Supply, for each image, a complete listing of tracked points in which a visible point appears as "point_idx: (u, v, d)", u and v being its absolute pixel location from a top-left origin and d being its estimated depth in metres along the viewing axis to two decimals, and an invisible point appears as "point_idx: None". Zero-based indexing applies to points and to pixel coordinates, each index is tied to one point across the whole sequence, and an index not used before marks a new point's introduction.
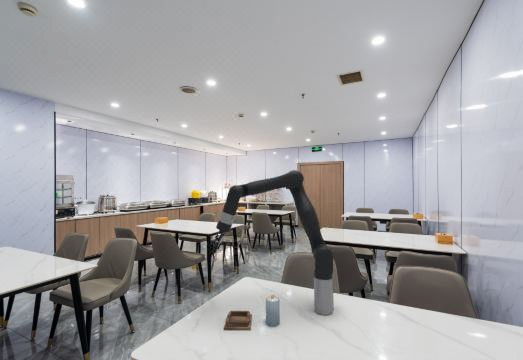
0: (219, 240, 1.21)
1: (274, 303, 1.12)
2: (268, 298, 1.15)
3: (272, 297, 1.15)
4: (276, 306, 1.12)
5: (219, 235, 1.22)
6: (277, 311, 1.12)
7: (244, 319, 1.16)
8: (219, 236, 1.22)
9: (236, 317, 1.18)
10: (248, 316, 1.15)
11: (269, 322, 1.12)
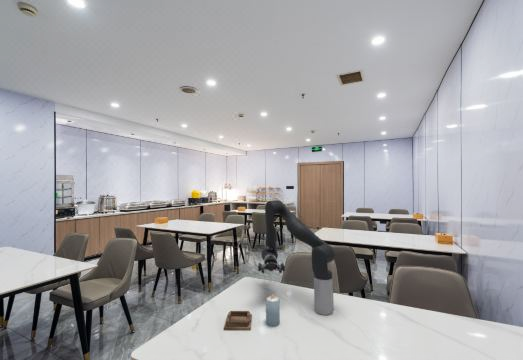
0: (258, 265, 1.34)
1: (274, 303, 1.12)
2: (268, 298, 1.15)
3: (272, 297, 1.15)
4: (276, 306, 1.12)
5: None
6: (277, 311, 1.12)
7: (244, 319, 1.16)
8: (258, 265, 1.36)
9: (236, 317, 1.18)
10: (248, 316, 1.15)
11: (269, 322, 1.12)
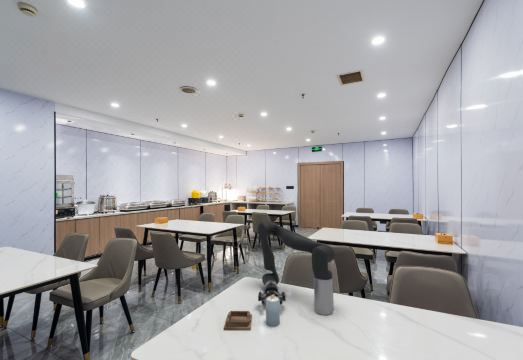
0: (258, 294, 1.29)
1: (274, 303, 1.12)
2: (268, 298, 1.15)
3: (272, 297, 1.15)
4: (276, 306, 1.12)
5: None
6: (277, 311, 1.12)
7: (244, 319, 1.16)
8: (258, 294, 1.31)
9: (236, 317, 1.18)
10: (248, 316, 1.15)
11: (269, 322, 1.12)
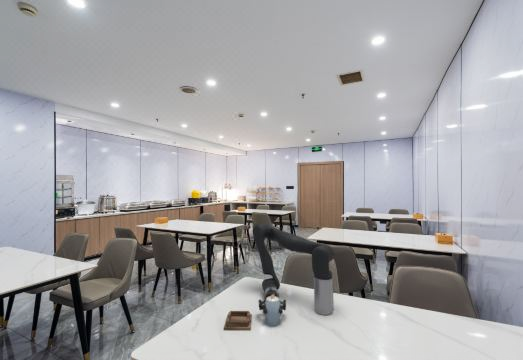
0: (259, 302, 1.20)
1: (274, 303, 1.12)
2: (268, 298, 1.15)
3: (272, 297, 1.15)
4: (276, 306, 1.12)
5: None
6: (277, 311, 1.12)
7: (244, 319, 1.16)
8: None
9: (236, 317, 1.18)
10: (248, 316, 1.15)
11: (269, 322, 1.12)
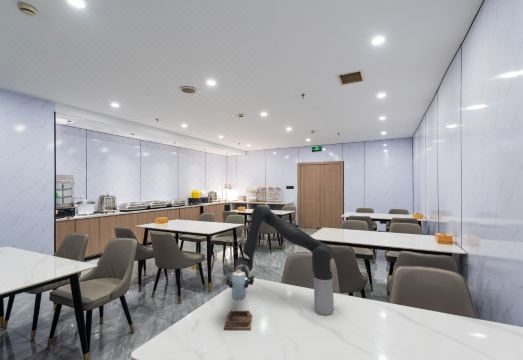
0: None
1: (239, 277, 1.13)
2: (234, 273, 1.16)
3: (238, 272, 1.15)
4: (241, 280, 1.13)
5: None
6: (242, 285, 1.13)
7: (244, 319, 1.16)
8: None
9: (236, 317, 1.18)
10: (248, 316, 1.15)
11: (235, 296, 1.13)
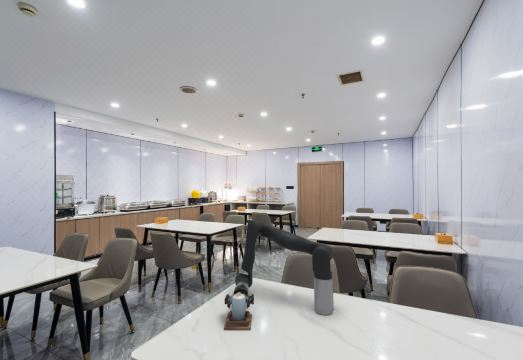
0: None
1: (239, 301, 1.12)
2: (234, 296, 1.15)
3: (238, 295, 1.15)
4: (241, 304, 1.12)
5: None
6: (242, 309, 1.13)
7: None
8: None
9: None
10: (248, 316, 1.15)
11: (234, 320, 1.12)
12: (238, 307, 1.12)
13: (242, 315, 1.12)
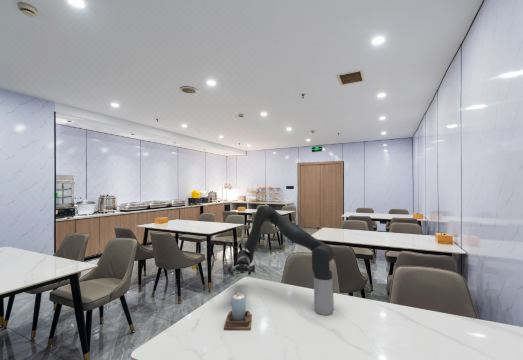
0: (228, 267, 1.31)
1: (239, 301, 1.12)
2: (234, 296, 1.15)
3: (238, 295, 1.15)
4: (241, 304, 1.12)
5: None
6: (242, 309, 1.13)
7: None
8: None
9: None
10: (248, 316, 1.15)
11: (234, 320, 1.12)
12: (238, 307, 1.12)
13: (242, 315, 1.12)
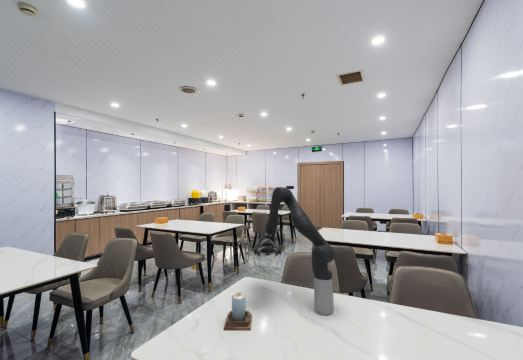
0: (254, 248, 1.30)
1: (239, 301, 1.12)
2: (234, 296, 1.15)
3: (238, 295, 1.15)
4: (241, 304, 1.12)
5: None
6: (242, 309, 1.13)
7: None
8: None
9: None
10: (248, 316, 1.15)
11: (234, 320, 1.12)
12: (238, 307, 1.12)
13: (242, 315, 1.12)
